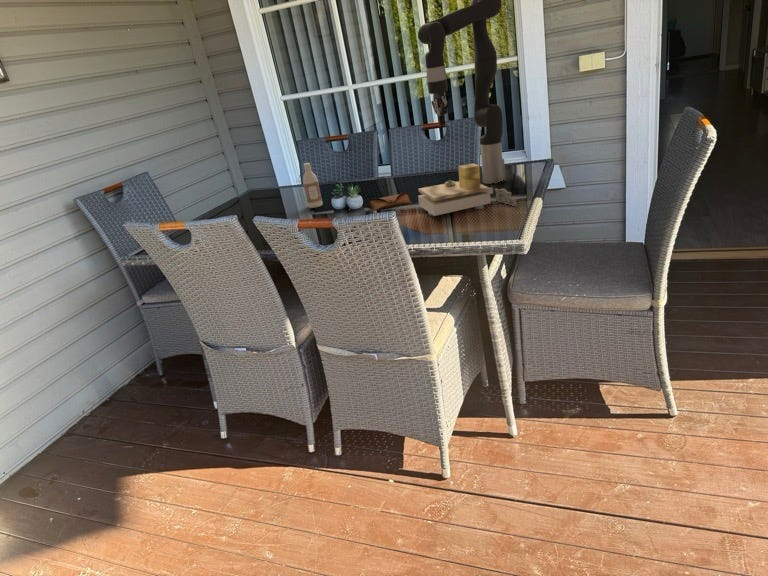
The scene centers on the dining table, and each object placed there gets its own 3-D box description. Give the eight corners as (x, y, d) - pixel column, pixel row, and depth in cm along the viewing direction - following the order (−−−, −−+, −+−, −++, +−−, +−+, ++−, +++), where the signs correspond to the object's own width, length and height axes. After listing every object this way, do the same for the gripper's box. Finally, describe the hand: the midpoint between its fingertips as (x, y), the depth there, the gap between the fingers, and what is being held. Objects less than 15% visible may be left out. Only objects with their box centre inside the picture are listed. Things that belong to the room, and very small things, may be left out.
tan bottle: (309, 209, 238) (299, 166, 230) (307, 205, 245) (298, 163, 236) (323, 206, 239) (314, 163, 231) (322, 202, 246) (313, 161, 237)
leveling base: (471, 197, 214) (470, 178, 211) (494, 208, 195) (492, 188, 192) (418, 209, 210) (416, 190, 207) (436, 222, 191) (433, 201, 188)
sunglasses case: (373, 211, 217) (369, 196, 218) (371, 216, 224) (368, 202, 225) (413, 203, 220) (409, 188, 221) (411, 207, 227) (407, 193, 228)
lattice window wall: (517, 206, 194) (516, 191, 191) (513, 207, 193) (512, 192, 191) (498, 200, 204) (497, 186, 201) (494, 202, 203) (493, 187, 201)
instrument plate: (471, 182, 210) (469, 159, 206) (490, 191, 194) (489, 165, 190) (418, 192, 206) (416, 168, 202) (433, 201, 190) (431, 176, 186)
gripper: (452, 77, 195) (457, 124, 202) (439, 77, 206) (444, 122, 214) (434, 81, 193) (439, 128, 200) (422, 81, 205) (428, 125, 212)
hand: (442, 125), depth 207 cm, fingers closed
